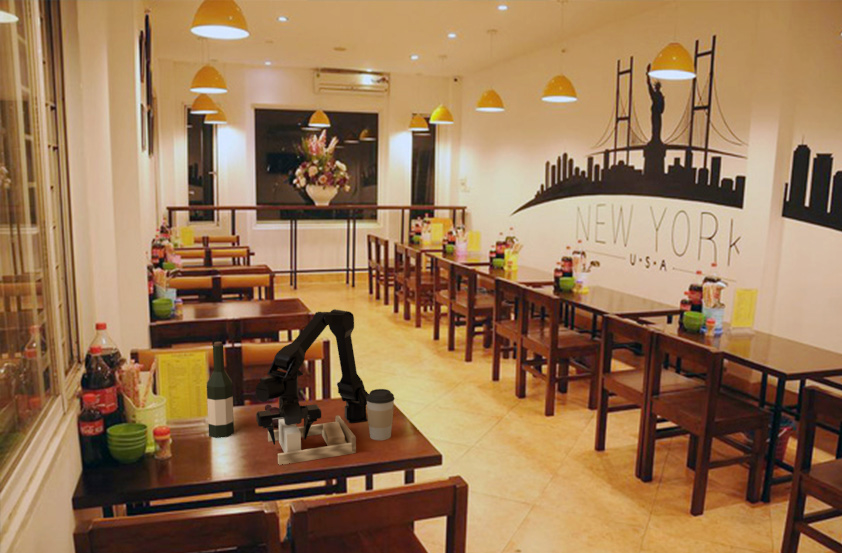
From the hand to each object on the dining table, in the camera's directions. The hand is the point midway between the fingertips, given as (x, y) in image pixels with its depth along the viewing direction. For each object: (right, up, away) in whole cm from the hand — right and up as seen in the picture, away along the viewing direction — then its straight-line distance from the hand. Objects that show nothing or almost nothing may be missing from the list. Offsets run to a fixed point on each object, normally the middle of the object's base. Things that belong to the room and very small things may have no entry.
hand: (289, 442), depth 194 cm
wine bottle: (-25, -1, +13) cm, 28 cm away
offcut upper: (+13, 0, +5) cm, 14 cm away
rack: (+6, -2, +3) cm, 7 cm away
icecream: (-9, 0, +19) cm, 21 cm away
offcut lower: (+13, -2, +6) cm, 14 cm away
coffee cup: (+27, -1, +11) cm, 29 cm away
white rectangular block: (0, -3, 0) cm, 3 cm away
